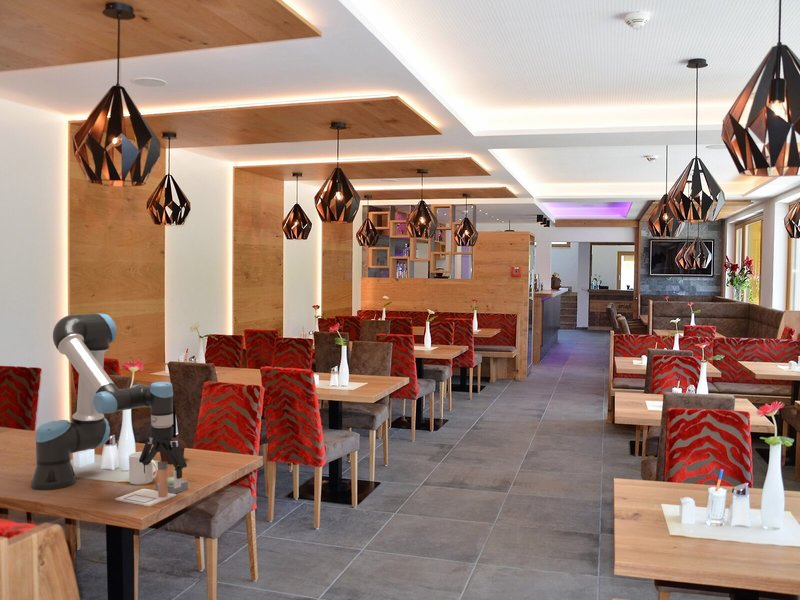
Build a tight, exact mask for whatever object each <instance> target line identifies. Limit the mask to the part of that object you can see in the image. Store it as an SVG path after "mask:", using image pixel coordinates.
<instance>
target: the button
mask: <svg viewBox="0 0 800 600" xmlns="http://www.w3.org/2000/svg"><path fill="white" fill-rule="evenodd" d="M168 485H174V476H170V477H169V476H168Z"/></svg>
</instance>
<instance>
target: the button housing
mask: <svg viewBox="0 0 800 600" xmlns="http://www.w3.org/2000/svg"><path fill="white" fill-rule="evenodd" d="M188 489H189V481H188V480H183V479H181V487H178V488H176V489H175V488H174V485H168V493H172V494H176V495H177V494H179V493H181V492H184V491H186V490H188ZM155 491H158V482H157V483H155Z"/></svg>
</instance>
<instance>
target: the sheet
mask: <svg viewBox="0 0 800 600" xmlns="http://www.w3.org/2000/svg"><path fill="white" fill-rule="evenodd" d="M175 497H177V494H172V493H168V496H167V497H158V491H156V489H155V490H154V489H148V488H141V489H138V490H135V491H133V492H129V493H127V494H125V495H121V496H119V497H115V501H118V502H123V503H129V504H134V505H138V506H139V505H140V506H145V507H152V506H154V505H158V504H159V503H162V502H164V501H168V500H171V499H172V498H175Z"/></svg>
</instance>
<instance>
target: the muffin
mask: <svg viewBox="0 0 800 600" xmlns="http://www.w3.org/2000/svg"><path fill="white" fill-rule="evenodd" d="M177 440H179V443H180V448H181V451H182V454H183V456H184V457H185V455H184V454H185V448H186V447H187V444H186V443H185V441H184V440H182V439H181V438H179V437H172V441H177ZM169 450H170V449H169ZM159 457H160V460H161V461H160V462H168V465H171V464H172V462H171V461H170V459H169V457H168V456H167V455H166V454H165V453H162V452H159Z"/></svg>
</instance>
